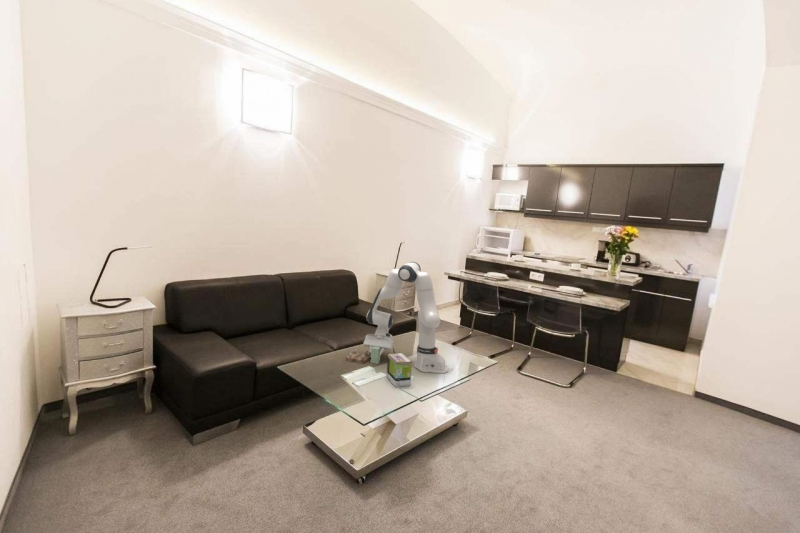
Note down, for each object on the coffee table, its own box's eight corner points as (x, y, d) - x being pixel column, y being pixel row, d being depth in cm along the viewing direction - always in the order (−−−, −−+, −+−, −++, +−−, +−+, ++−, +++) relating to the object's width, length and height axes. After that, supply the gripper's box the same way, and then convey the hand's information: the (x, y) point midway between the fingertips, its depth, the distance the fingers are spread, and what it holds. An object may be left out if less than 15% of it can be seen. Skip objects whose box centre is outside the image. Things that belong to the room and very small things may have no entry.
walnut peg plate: (371, 357, 251) (371, 350, 251) (364, 363, 240) (365, 356, 239) (352, 354, 255) (352, 347, 254) (345, 360, 243) (345, 353, 243)
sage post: (379, 361, 246) (380, 346, 245) (377, 363, 241) (378, 349, 240) (372, 360, 247) (373, 345, 246) (370, 362, 242) (371, 347, 241)
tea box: (410, 385, 210) (412, 360, 209) (394, 387, 206) (396, 362, 205) (401, 375, 224) (402, 352, 222) (385, 377, 220) (387, 353, 219)
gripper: (365, 331, 252) (359, 349, 243) (394, 335, 246) (388, 353, 238) (367, 335, 256) (361, 353, 248) (395, 340, 251) (390, 358, 243)
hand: (375, 353), depth 243 cm, fingers closed on sage post, 5 cm apart
